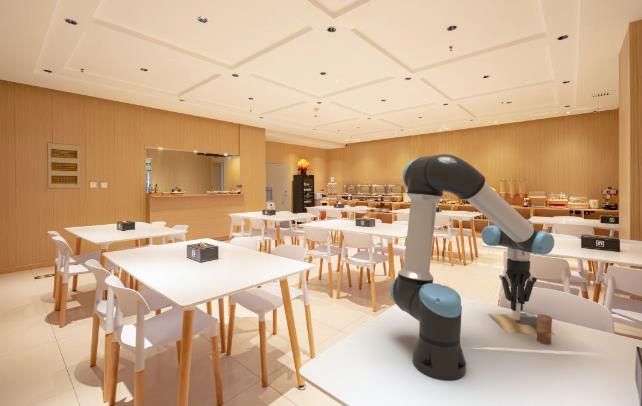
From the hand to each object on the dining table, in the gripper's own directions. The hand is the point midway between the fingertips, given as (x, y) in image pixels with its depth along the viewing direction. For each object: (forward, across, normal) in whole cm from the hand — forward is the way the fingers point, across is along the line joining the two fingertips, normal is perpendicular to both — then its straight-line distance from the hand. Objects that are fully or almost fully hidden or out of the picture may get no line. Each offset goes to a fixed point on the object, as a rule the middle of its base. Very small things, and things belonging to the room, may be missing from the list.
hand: (516, 318), depth 119 cm
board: (+3, +1, -1) cm, 3 cm away
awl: (+3, +1, -15) cm, 15 cm away
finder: (+2, +4, 0) cm, 4 cm away
